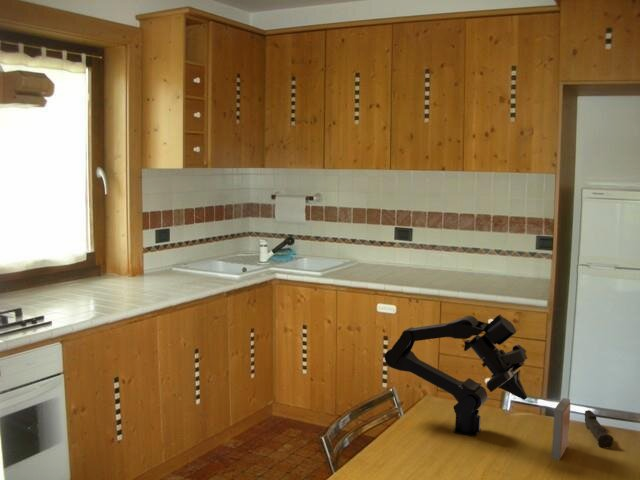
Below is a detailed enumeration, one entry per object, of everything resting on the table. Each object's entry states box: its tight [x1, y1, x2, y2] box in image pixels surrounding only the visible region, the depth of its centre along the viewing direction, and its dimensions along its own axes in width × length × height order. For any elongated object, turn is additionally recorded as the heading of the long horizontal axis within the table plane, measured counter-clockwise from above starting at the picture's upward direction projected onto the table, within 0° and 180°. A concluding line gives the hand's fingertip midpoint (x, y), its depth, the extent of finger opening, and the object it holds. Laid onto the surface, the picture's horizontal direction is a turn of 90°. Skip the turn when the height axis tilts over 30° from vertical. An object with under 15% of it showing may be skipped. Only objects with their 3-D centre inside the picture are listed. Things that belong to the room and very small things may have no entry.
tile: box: [551, 397, 572, 461], centre depth 183 cm, size 2×10×14 cm, turn 149°
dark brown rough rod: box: [584, 409, 614, 448], centre depth 197 cm, size 19×4×5 cm, turn 172°
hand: (525, 398), depth 188 cm, fingers closed
